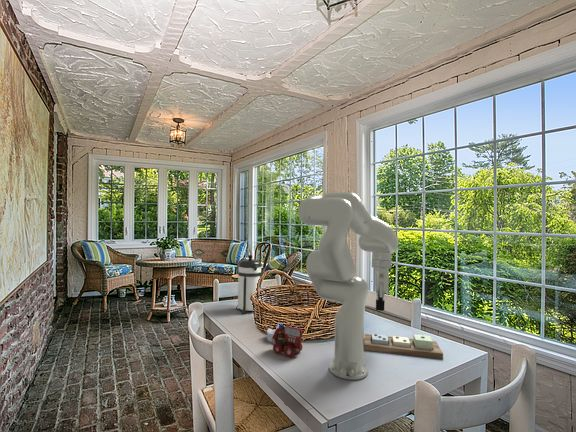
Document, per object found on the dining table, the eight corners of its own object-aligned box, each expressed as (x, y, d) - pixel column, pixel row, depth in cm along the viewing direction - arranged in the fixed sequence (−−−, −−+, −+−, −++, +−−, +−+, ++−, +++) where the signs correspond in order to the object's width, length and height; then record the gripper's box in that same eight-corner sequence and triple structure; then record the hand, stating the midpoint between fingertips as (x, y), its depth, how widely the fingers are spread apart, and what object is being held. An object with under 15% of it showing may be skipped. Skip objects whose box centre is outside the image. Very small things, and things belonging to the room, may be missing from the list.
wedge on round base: (300, 337, 134) (271, 333, 139) (300, 322, 134) (272, 318, 139) (293, 345, 126) (263, 341, 130) (294, 328, 126) (263, 324, 130)
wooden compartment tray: (443, 359, 117) (443, 353, 117) (364, 349, 123) (364, 344, 123) (436, 346, 128) (436, 341, 128) (364, 338, 135) (364, 333, 135)
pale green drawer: (432, 349, 120) (432, 340, 120) (415, 347, 122) (415, 338, 122) (429, 343, 126) (429, 335, 126) (413, 341, 128) (413, 333, 128)
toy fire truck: (278, 346, 126) (279, 319, 126) (306, 353, 119) (306, 325, 119) (268, 352, 120) (268, 324, 120) (296, 360, 113) (297, 331, 113)
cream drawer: (410, 351, 122) (410, 342, 122) (393, 349, 124) (393, 340, 124) (408, 345, 128) (408, 336, 128) (392, 343, 130) (392, 335, 130)
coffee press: (268, 308, 177) (269, 254, 177) (255, 316, 162) (256, 257, 162) (240, 304, 183) (241, 252, 183) (225, 312, 168) (226, 255, 168)
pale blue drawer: (388, 348, 124) (388, 340, 124) (372, 346, 126) (372, 338, 126) (387, 342, 130) (387, 334, 130) (371, 341, 131) (372, 333, 131)
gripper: (392, 266, 120) (391, 316, 119) (389, 262, 134) (388, 306, 134) (372, 265, 121) (370, 313, 121) (371, 261, 136) (370, 304, 136)
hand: (379, 309), depth 127 cm, fingers closed
